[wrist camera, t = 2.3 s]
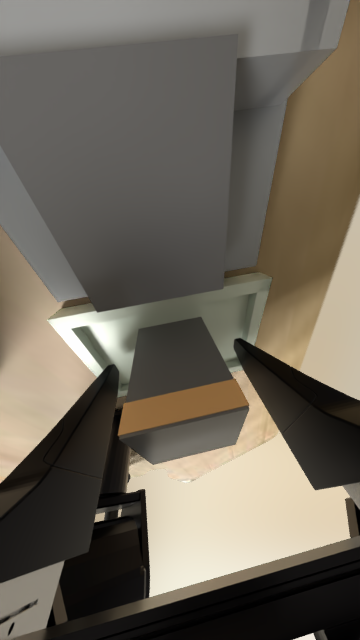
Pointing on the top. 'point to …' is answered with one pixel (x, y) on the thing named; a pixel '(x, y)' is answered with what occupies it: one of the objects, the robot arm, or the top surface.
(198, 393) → the plug
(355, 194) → the top surface
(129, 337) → the tray
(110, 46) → the grey storage bin
